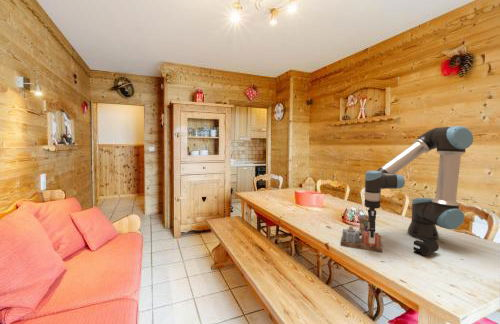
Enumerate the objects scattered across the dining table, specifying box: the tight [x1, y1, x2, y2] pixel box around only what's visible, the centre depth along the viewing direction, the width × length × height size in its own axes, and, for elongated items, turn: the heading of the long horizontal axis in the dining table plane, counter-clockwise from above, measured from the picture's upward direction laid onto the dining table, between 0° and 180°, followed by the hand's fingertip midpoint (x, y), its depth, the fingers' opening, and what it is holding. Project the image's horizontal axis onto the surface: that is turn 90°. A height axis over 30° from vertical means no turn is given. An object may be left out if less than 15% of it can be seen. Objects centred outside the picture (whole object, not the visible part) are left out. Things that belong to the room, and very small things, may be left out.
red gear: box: [361, 231, 382, 247], centre depth 127 cm, size 9×9×5 cm
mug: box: [357, 214, 369, 235], centre depth 146 cm, size 12×9×11 cm
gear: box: [341, 227, 361, 243], centre depth 131 cm, size 9×9×5 cm
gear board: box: [340, 225, 383, 253], centre depth 129 cm, size 20×10×10 cm, turn 65°
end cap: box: [412, 238, 440, 257], centre depth 119 cm, size 10×7×7 cm
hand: (371, 238), depth 127 cm, fingers open, 13 cm apart
